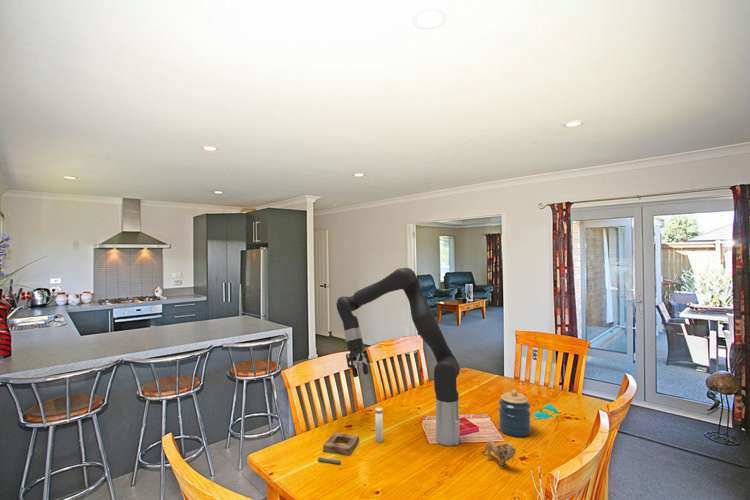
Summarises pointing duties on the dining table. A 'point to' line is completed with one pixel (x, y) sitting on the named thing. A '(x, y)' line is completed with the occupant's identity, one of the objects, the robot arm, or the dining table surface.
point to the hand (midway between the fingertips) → (361, 375)
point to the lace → (329, 460)
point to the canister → (514, 414)
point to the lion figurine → (500, 452)
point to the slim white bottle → (379, 424)
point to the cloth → (545, 415)
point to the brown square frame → (339, 448)
